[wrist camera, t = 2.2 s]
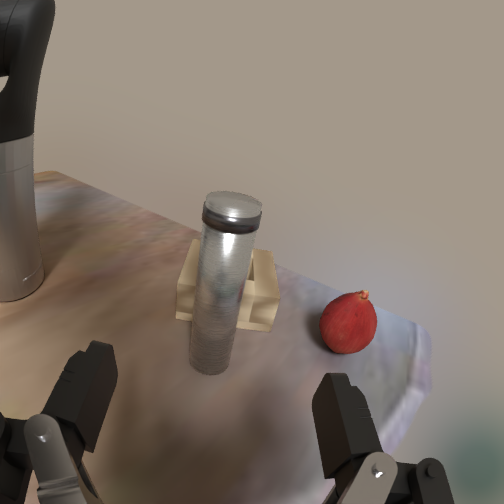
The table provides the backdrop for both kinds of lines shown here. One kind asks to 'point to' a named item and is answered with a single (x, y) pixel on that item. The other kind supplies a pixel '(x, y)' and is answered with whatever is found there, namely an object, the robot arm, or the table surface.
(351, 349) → the onion
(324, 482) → the table surface
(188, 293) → the square ring gauge
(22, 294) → the robot arm
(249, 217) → the cylinder
